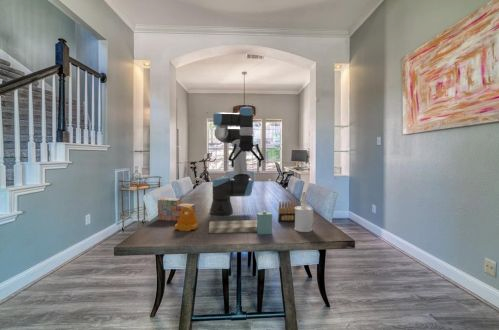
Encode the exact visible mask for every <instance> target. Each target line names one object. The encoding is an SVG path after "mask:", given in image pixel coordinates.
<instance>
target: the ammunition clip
mask: <svg viewBox="0 0 499 330" xmlns="http://www.w3.org/2000/svg"><path fill="white" fill-rule="evenodd" d="M278 206H279V207H278V215H277V217H278V218H277V222H278V223H295V207H297V202H296V201H294V203H293V201H291V202H290V201H288V202H287V201H285V202H284V201H282V203H281V201H279V203H278Z"/></svg>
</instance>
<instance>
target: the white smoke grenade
mask: <svg viewBox="0 0 499 330" xmlns="http://www.w3.org/2000/svg"><path fill="white" fill-rule="evenodd" d="M299 203H300V205H299V206H298V205H296V207H295V222H294V228H293V229H294V230H295V231H296V232H300V233H310V232H313V226H312V225H313V224H314V209H313V207H312V206H310V205H309V204H308V202H307V193H306V192H305V191H302V192H301V196H300V198H299Z"/></svg>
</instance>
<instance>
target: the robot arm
mask: <svg viewBox="0 0 499 330" xmlns="http://www.w3.org/2000/svg"><path fill="white" fill-rule="evenodd" d="M212 116H213V117H212V118H213V121H212V122H213V123H212V124H213V126H215V130H214V136H215V139H216V140H218V141H219V142H221V143H224V144H230V145H231V147H233V148H232V150H231V152H230V155H229V157H228V158H227V159H228V161H230V162H231V168H233V169H232V170H233V174H234V175H233V176H232V178H231V177H230V176H221V177H217V178H214V179H213V180H212V202H211V205H210V209H209V213H210V214H211V215H214V216H225V215H226V216H228V215H231V214H233V213H234V209H233V204H232V202H231V197H233V198H234V197H249V196H251V195H252V193H253V185H254V184H253V182H254V179H253V178H251V176H250V174H248V165H247V154H246V153H249V152H250V153H252V154H253V156H254V157H255V159H257V161H256V173H257V174H260V168H261V167H262V161H265V158H264V156H263V154H262V151H261V150H260V147H259V146H260V145H259V144H258V143H255V144H254V136H253V135H254V109H253V108H252V107H251V106H243V107H240V108H239V112H236V113H235V112H233V113H232V112H214V113H213V115H212ZM253 148H255V149H256V151H257V153H258V154H257V153H256V152H255V151H254V149H253ZM258 155H259V156H258Z"/></svg>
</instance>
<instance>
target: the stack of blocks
mask: <svg viewBox="0 0 499 330" xmlns="http://www.w3.org/2000/svg"><path fill="white" fill-rule="evenodd" d="M186 205H190V206H191V207H192V208H193V211H194V213H195V214H196V204H195V203H182V198H175V197H172V198H171V197H161V198H158V199H157V219H158V220H162V221H170V220H173V221H176V222H178V219H179V217H180V214H181V209H182V208H183V207H184V206H186ZM185 211H186V212H187V213H189V211H188V210H187V209H185Z"/></svg>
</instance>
